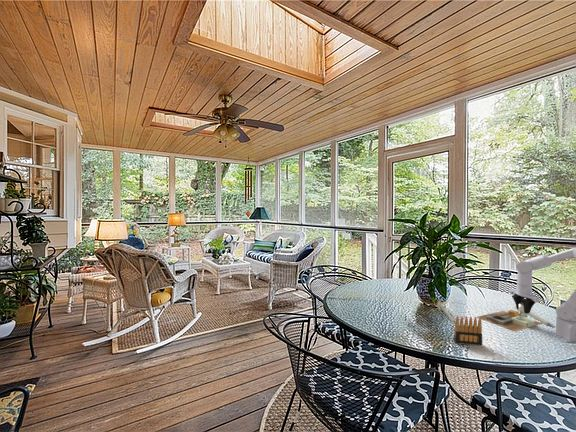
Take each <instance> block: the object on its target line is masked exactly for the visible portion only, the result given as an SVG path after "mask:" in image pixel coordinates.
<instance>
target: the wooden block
mask: <svg viewBox="0 0 576 432" xmlns="http://www.w3.org/2000/svg"><path fill="white" fill-rule="evenodd" d="M507 312H508V315H504V316H500V319H502V320H505V318H509V317H513V316H515V317H517V316H518V310H513V309H511V310H507Z"/></svg>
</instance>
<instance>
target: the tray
mask: <svg viewBox="0 0 576 432" xmlns="http://www.w3.org/2000/svg"><path fill="white" fill-rule="evenodd" d="M511 319H512V320H513V323H515V324H518V325H521V326H524V327H530V326H533V327H535V326H534V325H535V321H536V320H533V319H530V318H528V317H520V316H517V317H513V318H511ZM530 328H531V327H530Z"/></svg>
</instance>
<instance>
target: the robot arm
mask: <svg viewBox="0 0 576 432" xmlns="http://www.w3.org/2000/svg"><path fill="white" fill-rule="evenodd" d="M570 258H576V247H573V248H570V249H569V248H568V249H566V250H562V251H560V252H557V253H553V254H551V255H547V254H541V253H540V254H537V255H536V256H533V257H530V258H529V257H527V258H526V259H525V260H520V261H519V262H517V263H516V264H515V265H516V266H515V268H516V270H517V275H516V276H517V277H516V278H517V279H516V289H514V288H509V293H510V294H512V295H511V297H512V299H513V301H514V303H515V307H517V309H516V311H518V306H519V303H520V302H523V303H524V312H525V313H530V312H531V311H532V308H533V307H534V305H535V304H536V303H540V301H541V298H540V297H537V296H536V295H534V294H533V293H532V292H533V291H532V290H533V287H532V286H533V271H536V270H542V269H544V268H548V267H551V266H552V264H553V263H554V262H559V261H562V260H563V261H564V260H566V259H570ZM555 309H556V310H555V313H556V317H555V318H556V321H555V335H557V336H559V337H560V338H563V339H565V340H567V341H566V343H568V344H570V343H571V344H576V289H575V290H574V291H573V293H572V294H571V295H570V296H569V297H568V298H567V300H566V301H564V302H562V303H561V305H559V306H557V307H556V308H555Z"/></svg>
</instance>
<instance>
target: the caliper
mask: <svg viewBox="0 0 576 432" xmlns="http://www.w3.org/2000/svg"><path fill="white" fill-rule="evenodd" d="M442 302H443V301H442V300H441V299H438V301H437V310H438V311H442V312H443V313H445V315H446V316H447V318H448V319H449V320H450V322H451V323H453V325H455V323H456V319H454V318H453V316H452V315H451V313H450V311H448V310H447V308H446V307H445V305H444V304H443V303H442Z"/></svg>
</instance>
